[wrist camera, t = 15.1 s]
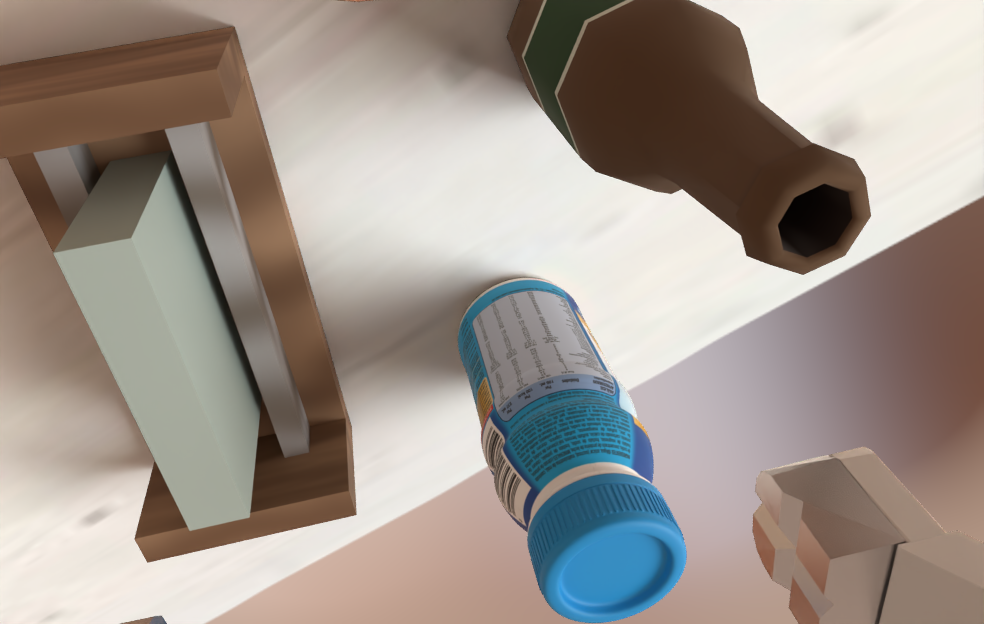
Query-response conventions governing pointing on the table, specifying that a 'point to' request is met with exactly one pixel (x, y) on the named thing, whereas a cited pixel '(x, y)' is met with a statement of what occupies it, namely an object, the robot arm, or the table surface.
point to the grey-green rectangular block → (167, 334)
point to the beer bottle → (687, 121)
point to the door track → (228, 236)
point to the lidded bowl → (356, 0)
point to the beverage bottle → (568, 454)
